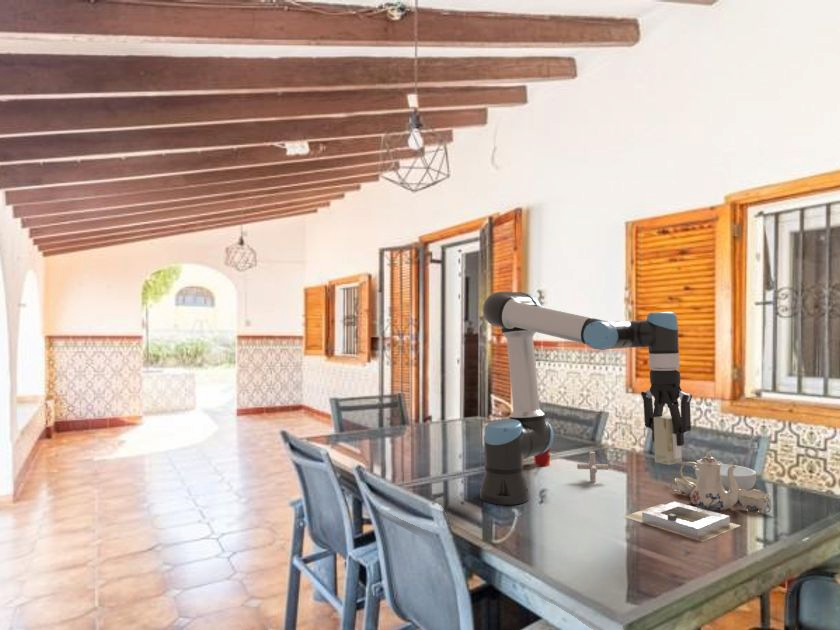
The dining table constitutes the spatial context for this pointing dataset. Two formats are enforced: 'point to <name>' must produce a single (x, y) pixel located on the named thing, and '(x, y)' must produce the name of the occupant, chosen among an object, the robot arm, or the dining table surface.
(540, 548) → the dining table surface
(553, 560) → the dining table surface
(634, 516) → the board
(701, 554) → the dining table surface
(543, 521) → the dining table surface
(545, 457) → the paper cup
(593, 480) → the pipe connector
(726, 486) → the cereal bowl
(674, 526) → the white square frame
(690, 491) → the chinaware
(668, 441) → the skincare box
